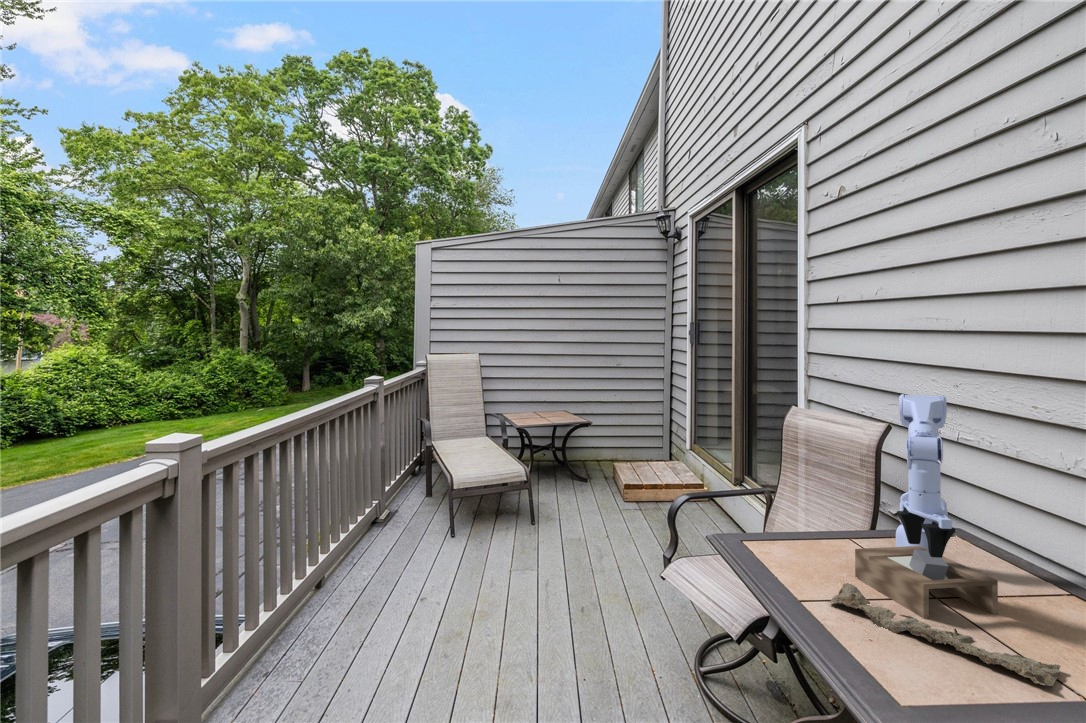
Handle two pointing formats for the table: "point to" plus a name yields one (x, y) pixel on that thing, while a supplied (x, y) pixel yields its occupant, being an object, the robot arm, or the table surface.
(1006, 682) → the table surface
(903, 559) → the trapdoor
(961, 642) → the tree branch
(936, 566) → the granite block
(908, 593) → the box
